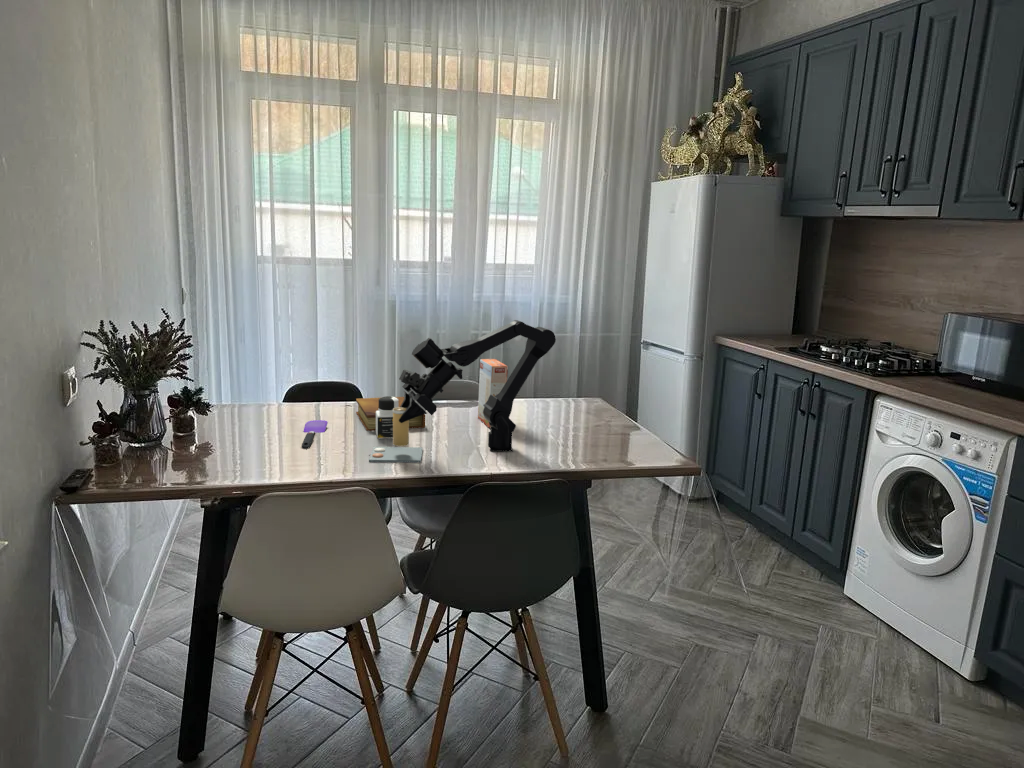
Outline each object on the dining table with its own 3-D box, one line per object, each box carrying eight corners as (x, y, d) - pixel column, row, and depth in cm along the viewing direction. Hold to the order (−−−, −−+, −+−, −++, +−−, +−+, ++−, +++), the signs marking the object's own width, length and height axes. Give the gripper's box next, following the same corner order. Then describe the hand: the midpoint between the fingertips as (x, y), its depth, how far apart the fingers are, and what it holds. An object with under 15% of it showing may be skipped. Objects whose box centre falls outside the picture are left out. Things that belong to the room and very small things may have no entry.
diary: (425, 429, 227) (425, 412, 225) (367, 433, 220) (367, 415, 219) (409, 411, 248) (409, 395, 246) (356, 414, 241) (356, 398, 240)
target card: (422, 449, 204) (422, 446, 203) (420, 462, 192) (420, 459, 192) (373, 448, 202) (373, 445, 202) (369, 461, 191) (369, 458, 190)
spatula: (316, 450, 200) (316, 442, 199) (292, 450, 199) (292, 441, 199) (328, 427, 223) (328, 420, 223) (306, 427, 222) (306, 419, 222)
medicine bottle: (377, 439, 212) (377, 400, 209) (375, 432, 219) (375, 395, 216) (401, 438, 214) (401, 400, 211) (398, 431, 221) (398, 394, 218)
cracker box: (506, 428, 230) (508, 365, 226) (488, 428, 228) (490, 366, 224) (494, 417, 243) (496, 358, 239) (477, 417, 241) (479, 358, 237)
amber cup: (411, 442, 198) (412, 408, 196) (404, 446, 194) (405, 412, 192) (396, 440, 199) (396, 406, 197) (389, 445, 195) (389, 410, 193)
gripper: (409, 354, 201) (371, 393, 200) (425, 366, 184) (383, 408, 183) (435, 379, 206) (398, 418, 204) (453, 393, 189) (413, 435, 187)
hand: (397, 419), depth 195 cm, fingers closed on amber cup, 4 cm apart
